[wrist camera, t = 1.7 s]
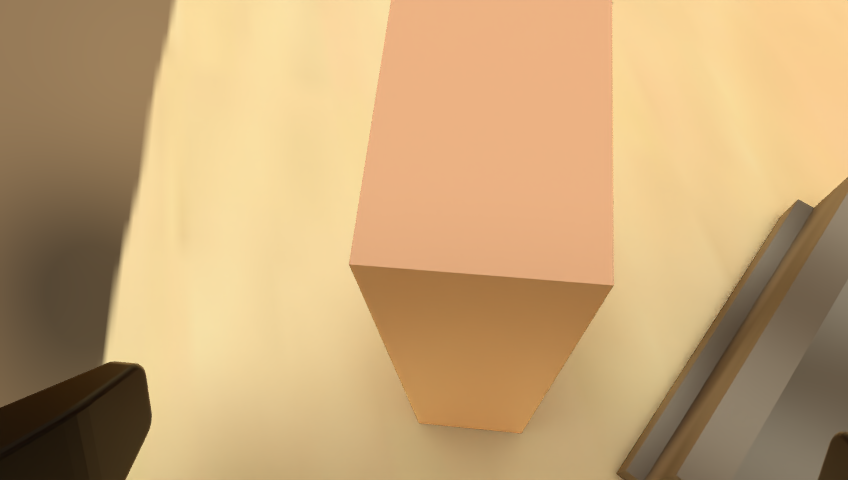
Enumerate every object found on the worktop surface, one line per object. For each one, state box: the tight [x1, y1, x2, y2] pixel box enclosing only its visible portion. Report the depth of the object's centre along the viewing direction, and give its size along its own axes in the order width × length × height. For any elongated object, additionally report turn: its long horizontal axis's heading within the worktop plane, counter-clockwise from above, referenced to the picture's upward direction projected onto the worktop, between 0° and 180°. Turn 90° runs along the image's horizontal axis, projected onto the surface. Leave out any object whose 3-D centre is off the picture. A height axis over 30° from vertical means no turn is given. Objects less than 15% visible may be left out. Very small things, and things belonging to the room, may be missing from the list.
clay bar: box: [349, 0, 614, 433], centre depth 14 cm, size 4×3×13 cm, turn 174°
